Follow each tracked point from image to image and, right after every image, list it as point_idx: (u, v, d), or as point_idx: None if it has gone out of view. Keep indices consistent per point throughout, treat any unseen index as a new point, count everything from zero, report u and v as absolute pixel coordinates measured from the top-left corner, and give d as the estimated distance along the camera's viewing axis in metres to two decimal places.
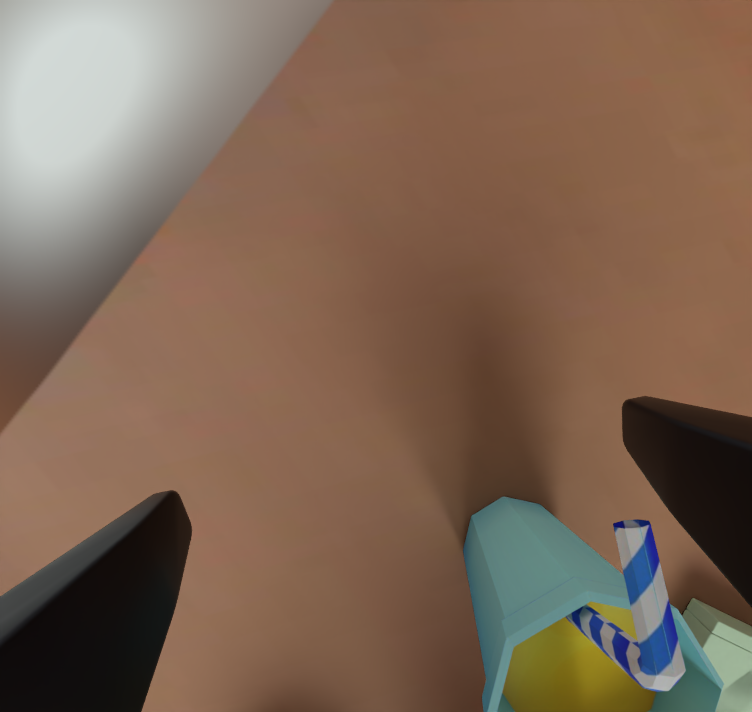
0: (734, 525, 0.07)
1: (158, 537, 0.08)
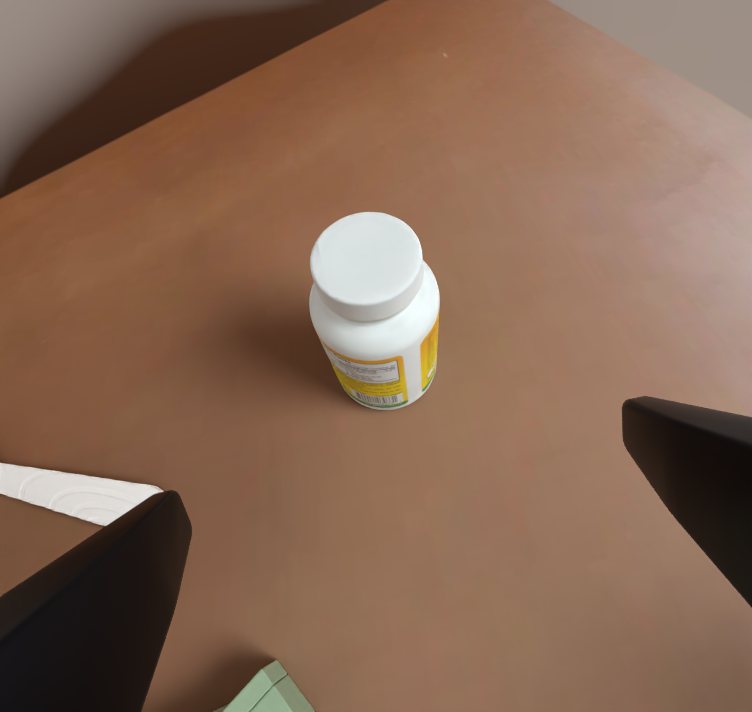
0: (734, 525, 0.07)
1: (158, 537, 0.08)
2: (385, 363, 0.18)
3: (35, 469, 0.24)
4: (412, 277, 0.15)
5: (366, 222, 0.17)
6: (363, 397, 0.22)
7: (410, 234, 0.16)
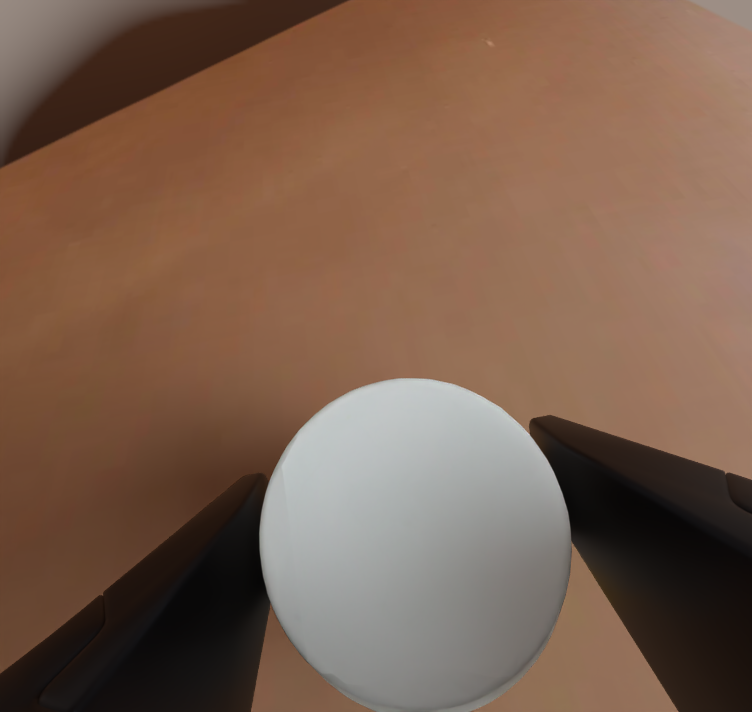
0: (609, 549, 0.07)
1: (256, 518, 0.08)
2: None
3: None
4: (554, 616, 0.05)
5: (409, 411, 0.06)
6: None
7: (531, 457, 0.06)
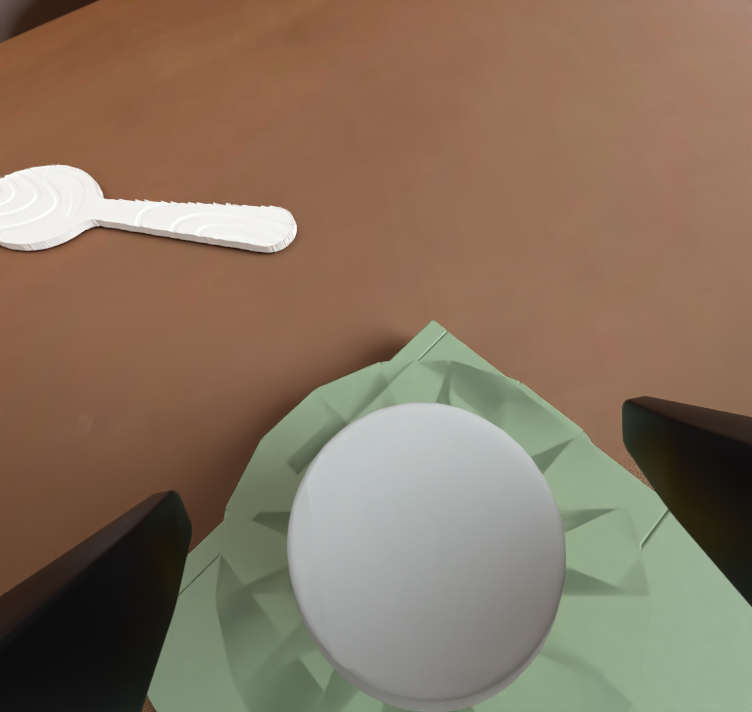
0: (734, 525, 0.07)
1: (158, 537, 0.08)
2: None
3: (151, 202, 0.23)
4: (550, 619, 0.06)
5: (421, 432, 0.07)
6: None
7: (530, 475, 0.07)
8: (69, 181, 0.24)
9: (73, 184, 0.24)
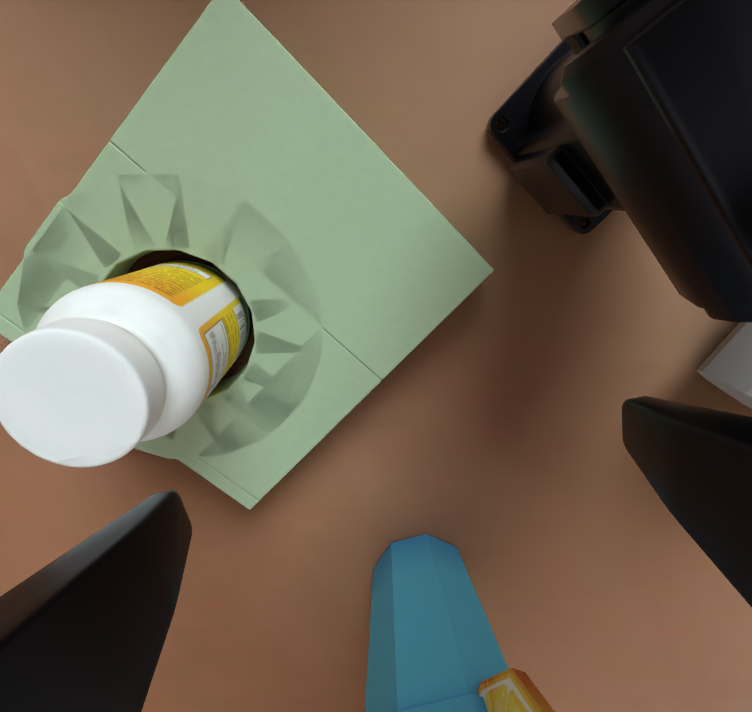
0: (734, 525, 0.07)
1: (158, 537, 0.08)
2: (209, 346, 0.15)
3: None
4: (97, 342, 0.12)
5: (11, 403, 0.12)
6: (240, 349, 0.20)
7: (22, 344, 0.11)
8: None
9: None
